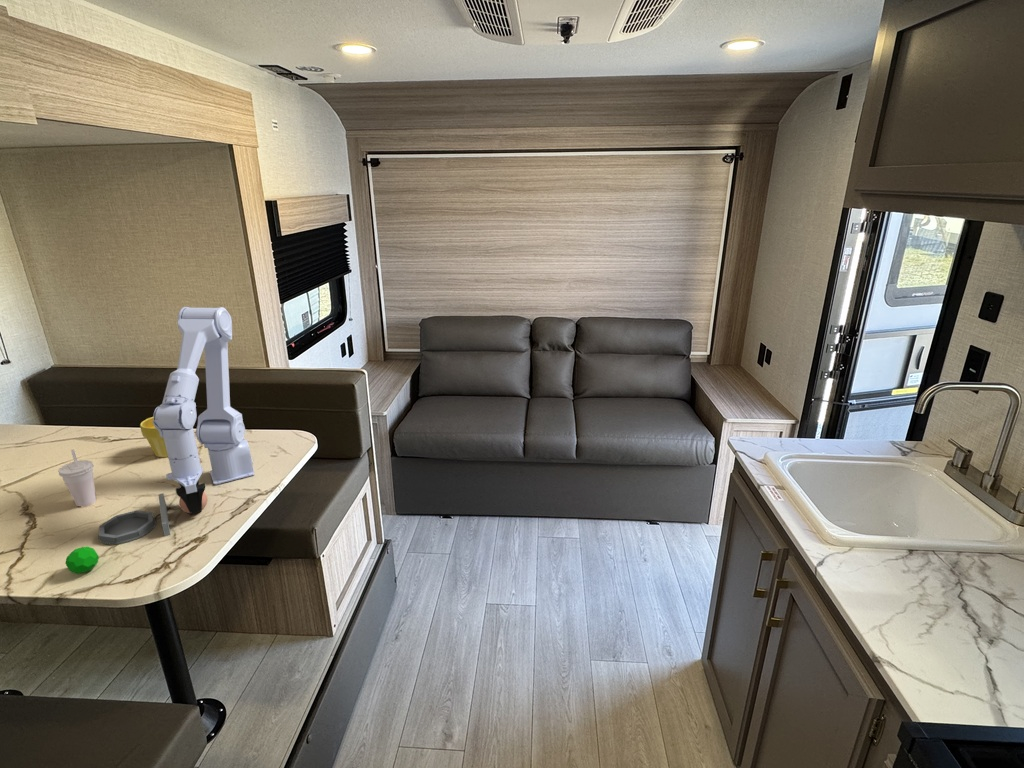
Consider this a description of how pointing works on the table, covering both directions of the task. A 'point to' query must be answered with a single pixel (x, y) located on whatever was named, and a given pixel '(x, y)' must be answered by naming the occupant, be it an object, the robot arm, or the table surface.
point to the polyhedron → (82, 560)
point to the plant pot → (153, 437)
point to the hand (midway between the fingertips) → (194, 506)
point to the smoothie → (79, 480)
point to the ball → (184, 507)
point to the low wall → (164, 515)
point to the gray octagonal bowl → (126, 527)
